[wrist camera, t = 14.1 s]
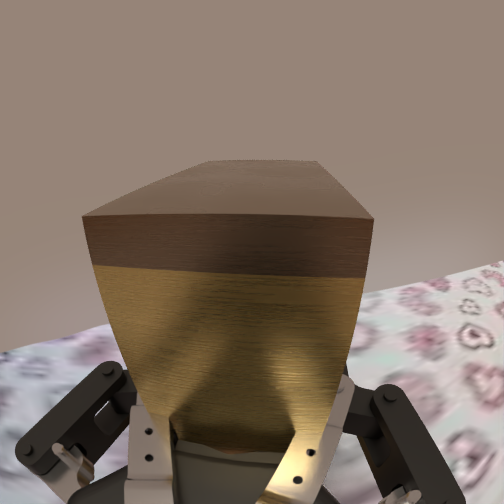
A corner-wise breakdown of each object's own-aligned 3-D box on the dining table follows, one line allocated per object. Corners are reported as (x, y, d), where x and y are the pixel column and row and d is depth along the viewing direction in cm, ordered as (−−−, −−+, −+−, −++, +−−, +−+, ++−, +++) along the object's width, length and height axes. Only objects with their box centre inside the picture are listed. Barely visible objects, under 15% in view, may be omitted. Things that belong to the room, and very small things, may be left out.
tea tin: (288, 511, 11) (373, 218, 4) (204, 502, 11) (81, 216, 4) (294, 402, 19) (316, 161, 12) (229, 397, 20) (209, 160, 13)
